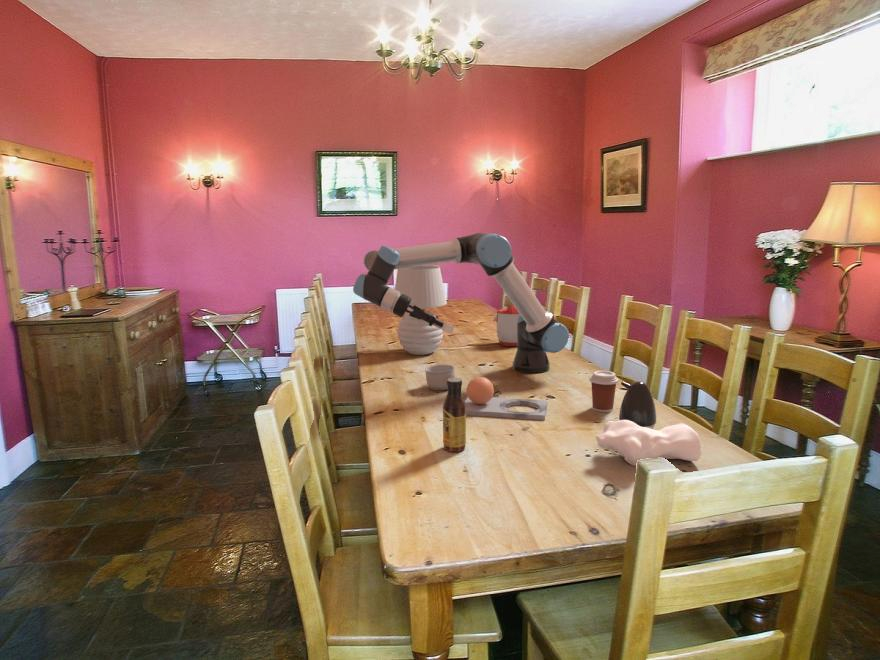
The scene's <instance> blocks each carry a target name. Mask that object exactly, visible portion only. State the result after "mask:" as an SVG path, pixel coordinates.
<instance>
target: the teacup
mask: <svg viewBox="0 0 880 660" xmlns="http://www.w3.org/2000/svg"><path fill="white" fill-rule="evenodd" d="M424 370H425V378H426V384H427V385H428V387H429V388H430V389H432V390H433V391H439V392H440V391H446V390H447V391H448V385H447V379H449V378H456V377H455V366H454V365H451V364H445V363H444V364H443V363H438V364H434V365H430V366H427V367H426V368H425V369H424Z"/></svg>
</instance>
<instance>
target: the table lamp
mask: <svg viewBox="0 0 880 660" xmlns="http://www.w3.org/2000/svg"><path fill="white" fill-rule="evenodd" d="M443 282H444V281H443V277H442V271H441V267H440V266H436V265H423V266H416V267H408V268H401V269H397V273H396V278H395V284H394V289H395V290H397V291H399V292H400V294H405V295H407V296H409V297H411V302H410V304H409V305H411V306H412V307H413V306H414V305H415V306H417V307H419V308H420V309H422V310H423V311H424V312H425V313H427V314H429V315H432V316H434V317H435V318H436V315H435V313H432V312H430V311H429V310H426V309H429V308H437V307H439V308H440V307H443V306H446V305H447V304H448V302H447V297H446V292H445V291H446V290H445V287H444V283H443ZM409 314H410V313H405V314H404V316H403V318H402V317H401V320H400V322H399V323H398V326H397V328H398V329H397V334H398V335H397V339H398V340H399V344H400V346H402V348H403V350H404V351H407V352H408V354H410V355H414V356H416V355H417V356H425V355H431V354H432V353H434V351H436V350H438V349H439V346H440V345H441V343H442V340H443V337H444V334H443V333H444V331H443V330H441V329H439V328H437V327H435V326H433V325H432V326H429V323H428V322H426V321H424V320H422V319H421V320H419V319H417V318H413V317H411V316H409Z"/></svg>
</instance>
